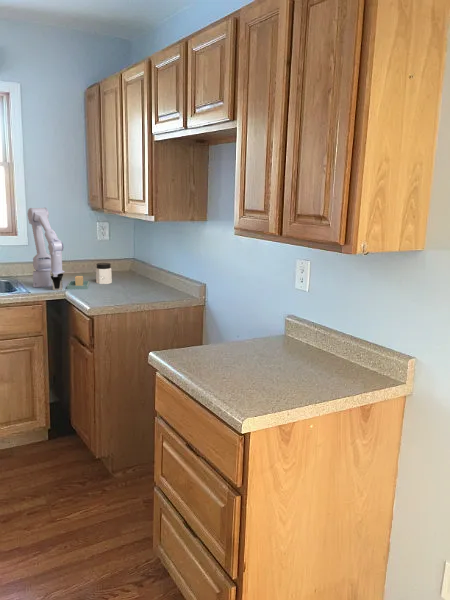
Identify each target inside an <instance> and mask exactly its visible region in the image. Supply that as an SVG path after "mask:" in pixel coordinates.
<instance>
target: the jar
mask: <svg viewBox="0 0 450 600" xmlns="http://www.w3.org/2000/svg"><path fill="white" fill-rule="evenodd" d="M111 265H112V264H111V263H110V262H98V263H96V267H95V279H96V284H99V285H109V284H112V282H113V279H112V276H113V275H112V274H113V273H112V267H111Z"/></svg>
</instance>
